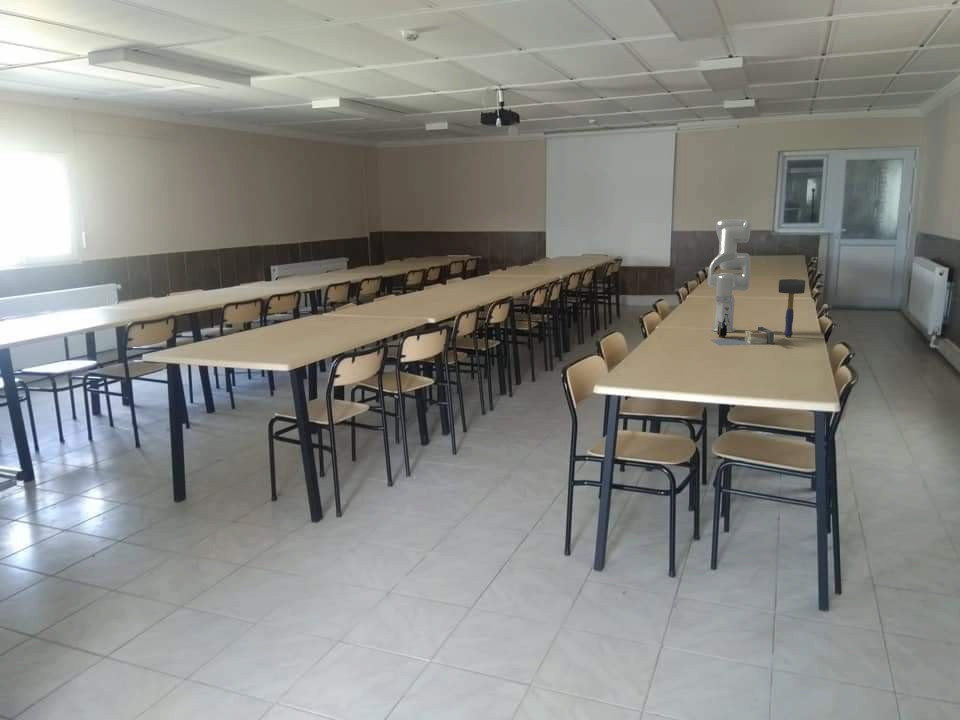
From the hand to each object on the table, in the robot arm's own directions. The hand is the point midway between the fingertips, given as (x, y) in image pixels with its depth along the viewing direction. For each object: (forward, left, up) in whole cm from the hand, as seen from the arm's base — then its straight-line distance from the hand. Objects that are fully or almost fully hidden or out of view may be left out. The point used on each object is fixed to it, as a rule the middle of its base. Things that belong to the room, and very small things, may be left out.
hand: (721, 334), depth 359 cm
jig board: (+13, +5, -3) cm, 14 cm away
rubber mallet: (-5, +36, -3) cm, 36 cm away
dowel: (0, 0, -3) cm, 3 cm away
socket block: (+14, +12, -1) cm, 18 cm away
